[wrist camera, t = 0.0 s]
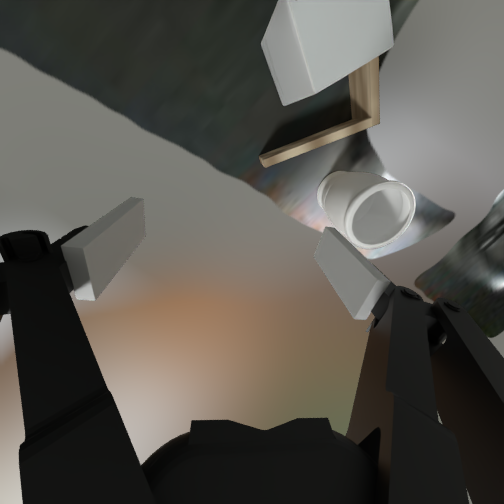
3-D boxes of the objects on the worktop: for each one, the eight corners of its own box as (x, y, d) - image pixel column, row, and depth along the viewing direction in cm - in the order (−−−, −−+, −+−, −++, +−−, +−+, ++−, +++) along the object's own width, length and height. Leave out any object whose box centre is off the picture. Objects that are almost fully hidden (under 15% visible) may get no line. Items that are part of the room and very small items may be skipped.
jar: (364, 203, 45) (418, 232, 33) (319, 223, 47) (353, 259, 34) (355, 154, 40) (415, 167, 27) (305, 179, 42) (338, 202, 29)
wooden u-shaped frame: (260, 162, 39) (265, 167, 34) (205, -21, 27) (199, -56, 22) (359, 124, 38) (379, 123, 32) (345, -90, 26) (375, -145, 20)
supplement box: (282, 108, 35) (312, 97, 22) (259, 43, 31) (280, -18, 18) (333, 78, 34) (397, 47, 21) (316, 4, 30) (384, -91, 17)
